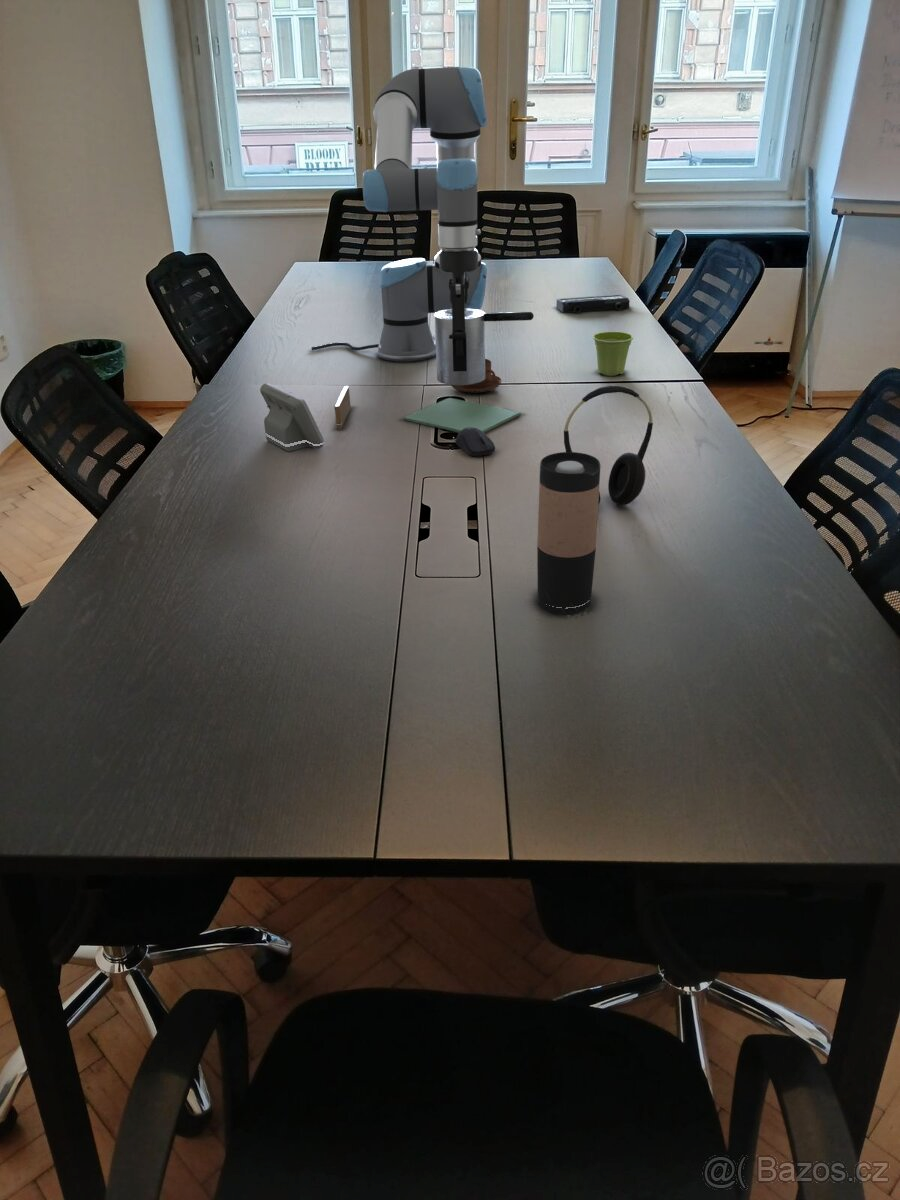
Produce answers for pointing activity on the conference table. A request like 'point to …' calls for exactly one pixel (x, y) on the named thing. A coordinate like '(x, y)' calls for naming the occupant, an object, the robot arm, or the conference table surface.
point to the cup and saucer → (482, 382)
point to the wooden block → (342, 407)
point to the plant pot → (612, 351)
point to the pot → (473, 344)
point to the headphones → (629, 466)
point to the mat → (461, 415)
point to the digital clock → (289, 419)
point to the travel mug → (567, 530)
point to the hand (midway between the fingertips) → (460, 363)
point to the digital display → (592, 303)
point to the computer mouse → (474, 442)
